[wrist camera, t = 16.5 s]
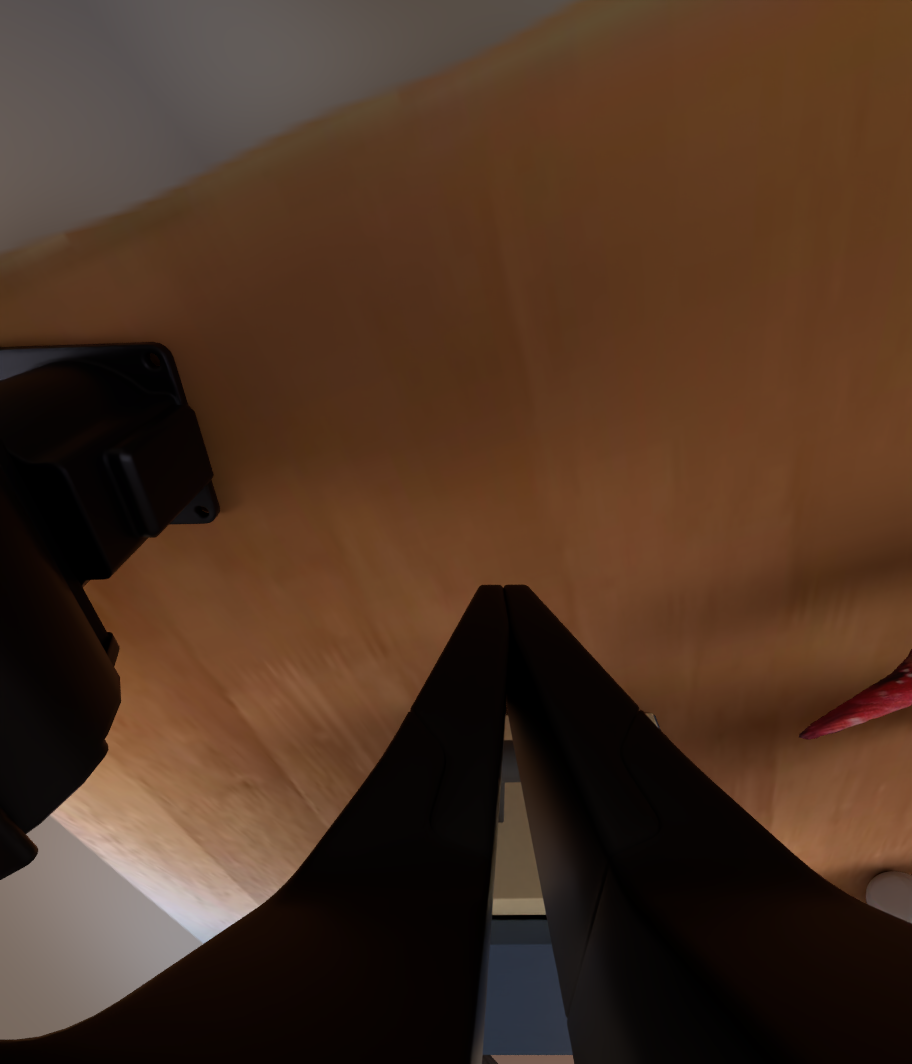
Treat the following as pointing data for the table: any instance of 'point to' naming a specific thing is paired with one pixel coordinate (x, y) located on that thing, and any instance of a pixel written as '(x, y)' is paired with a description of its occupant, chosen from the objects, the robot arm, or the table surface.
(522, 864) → the drawer
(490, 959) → the cabinet
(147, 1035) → the robot arm
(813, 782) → the table surface
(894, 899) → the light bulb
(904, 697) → the decorative bird figurine
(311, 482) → the table surface
